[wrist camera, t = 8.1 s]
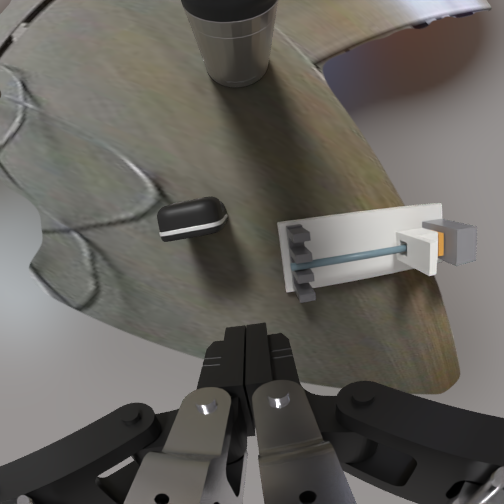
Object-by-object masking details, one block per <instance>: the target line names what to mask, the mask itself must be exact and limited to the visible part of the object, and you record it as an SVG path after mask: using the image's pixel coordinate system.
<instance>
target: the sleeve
mask: <svg viewBox="0 0 504 504" xmlns="http://www.w3.org/2000/svg"><path fill="white" fill-rule="evenodd" d="M405 244H407V252H402V253H397V260H399V261H401V262H403V263H405V264H407V265H409V266H411V267H413V268H415V269H417V270H419V271H421V272H422V273H424V274H426V275H428V276H432V275H436V272H437V260H438V232H436V231H432V230H428V229H425V228H419V229H412V230H405V231H399V232H396V246H399V245H405Z"/></svg>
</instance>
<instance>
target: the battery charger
mask: <svg viewBox="0 0 504 504" xmlns="http://www.w3.org/2000/svg"><path fill="white" fill-rule="evenodd" d="M227 217H228V215H227V213H226V209H225V206H224V204H223V203H222V202H220V201H219V199H217V198H215V197H204V198H199V199H194V200H189V201H184V202H179V203H174V204H171V205H168V206H165V207H163V208H161V209H160V210H159V212H158V215H157V218H158V224H159V229H160V232H159V233H160V236H161V239H162V240H163V241H164V242H168V241H174V240H180V239H186V238H191V237H197V236H202V235H208V234H212V233H216V232H218V231H220V230H221V229H222V228H223V227H224V225H225V223H226V222H227Z"/></svg>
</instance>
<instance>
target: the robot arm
mask: <svg viewBox="0 0 504 504" xmlns="http://www.w3.org/2000/svg"><path fill="white" fill-rule="evenodd" d="M181 2H182V4H183V7H184V10H185V12H186V15H187V18H188V20H189V23H190V25H191V28H192V31H193V33H194V36H195V39H196V41H197V44H198V47H199V49H200V52H201V55H202V58H203V61H204V63H205V66H206V69H207V71H208V74H209V75H210V76H211V78H212V79H213V80H214V81H216V82H217V83H219V84H221V85H224V86H227V87H244V86H248V85H251V84H253V83H255V82H256V81H258V80H259V79H260V78H261V77H262V76H263V75H264V74H265V72H266V70H267V67H268V63H269V56H270V50H271V44H272V37H273V31H274V24H275V18H276V11H277V4H278V0H181ZM255 428H256V433H257V440H258V447H259V455H258V460H259V468H260V475H261V482H262V489H263V496H264V503H265V504H356V501H355V499H354V497H353V494H352V492H351V489H350V487H349V484H348V482H347V480H346V477H345V475H344V472H343V471H345V472H347V473H349V474H351V475H353V476H355V477H357V478H359V479H361V480H363V481H365V482H367V483H369V484H372V485H374V486H376V487H378V488H380V489H382V490H385V491H387V492H389V493H392V494H394V495H397V496H399V497H402V498H404V499H407V500H410V501H412V502H415V503H418V504H504V418H500V417H495V416H491V415H486V414H481V413H477V412H473V411H469V410H465V409H460V408H457V407H452V406H449V405H445V404H441V403H438V402H435V401H431V400H428V399H425V398H421V397H418V396H414V395H412V394H408V393H405V392H402V391H399V390H396V389H393V388H390V387H387V386H384V385H381V384H378V383H375V382H371V381H359V382H354V383H351V384H349V385H347V386H345V387H344V388H342V389H341V390H340V392H339V393H338V395H337V396H320V395H315V394H312V393H310V392H308V391H306V390H305V389H304V388H303V387H302V386H301V384H300V382H299V378H298V374H297V370H296V366H295V362H294V358H293V354H292V350H291V346H290V342H289V339H288V338H287V337H286V336H284V335H283V334H282V333H278V334H271V335H267V328H266V323H259V324H251V325H247V327H246V326H245V325H244V326H236V327H228V328H226V331H225V337H224V341H215V342H213V343H212V344H211V345H210V346H209V347H208V349H207V350H206V354H205V359H204V362H203V367H202V370H201V374H200V378H199V382H198V386H197V390H195V391H193V392H191V393H190V394H188V395H187V396H186V397H185V399H183V401H182V404H181V406H180V408H179V409H177V410H173V411H170V412H165V413H160V414H155V413H154V411H153V410H152V408H151V407H150V406H148V405H146V404H143V403H130V404H127V405H124V406H122V407H120V408H118V409H116V410H115V411H113V412H111V413H110V414H108V415H106V416H104V417H102V418H101V419H99V420H97V421H95V422H93V423H91V424H89V425H88V426H86V427H84V428H82V429H80V430H78V431H76V432H74V433H72V434H71V435H68V436H66V437H64V438H62V439H61V440H58V441H56V442H54V443H52V444H50V445H48V446H46V447H44V448H42V449H40V450H38V451H35V452H33V453H31V454H29V455H27V456H24V457H22V458H20V459H17V460H15V461H13V462H10V463H8V464H5V465H3V466H0V504H243V493H244V485H245V476H246V466H247V458H248V457H247V456H248V453H247V450H246V449H247V436H255ZM130 456H132V458H133V459H134V461H133V462H131V463H130V464H128V465H126V466H125V467H123V468H121V469H120V470H118V471H116V472H115V473H113V474H111V475H110V476H108V477H105V478H99V477H97V476H98V475H100V474H101V473H103V472H105V471H107V470H108V469H110V468H112V467H113V466H115V465H117V464H118V463H120V462H122V461H123V460H125V459H127V458H128V457H130Z"/></svg>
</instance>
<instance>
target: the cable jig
mask: <svg viewBox="0 0 504 504" xmlns="http://www.w3.org/2000/svg"><path fill="white" fill-rule="evenodd" d="M277 227H278V234H279V242H280V249H281V257H282V265H283V273H284V281H285V289H286V292H293V291H295V292H296V294H297V297H298V299H299V301H300V303H303V302H308V301H314V300H316V293H315V291H314V290H313V288H317V287H323V286H329V285H334V284H340V283H345V282H351V281H356V280H361V279H366V278H371V277H376V276H381V275H386V274H391V273H396V272H400V271H405V270H409V269H414V268H413V267H411V266H409V265H407V264H405V263H403V262H401V261H399V260H397V253H402V252H407V244H405V245H399V246H396V232H399V231H405V230H412V229H419V228H425V229H428V230H432V231H436V232H438V260H437V263H440V262H442V260H443V261H446V262H448V263H451V264H453V265H455V266H458V265H462V264H466V263H470V262H473V261H476V245H477V226H473V225H468V224H464V223H459V222H455V221H450V220H445V219H442V204H440V203H432V204H422V205H413V206H402V207H393V208H384V209H375V210H367V211H358V212H350V213H342V214H334V215H326V216H318V217H311V218H303V219H296V220H289V221H282V222H277Z"/></svg>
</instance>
